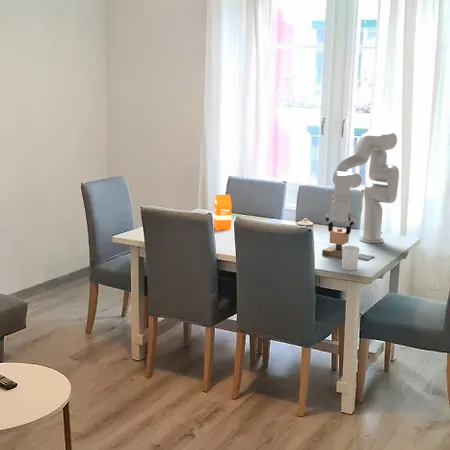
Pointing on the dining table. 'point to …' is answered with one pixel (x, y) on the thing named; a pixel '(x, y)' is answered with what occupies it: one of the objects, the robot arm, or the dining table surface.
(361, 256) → the coaster
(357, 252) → the white cup
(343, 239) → the peach cube
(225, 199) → the orange juice
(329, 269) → the dining table surface
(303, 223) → the teacup with lid
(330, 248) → the post base
